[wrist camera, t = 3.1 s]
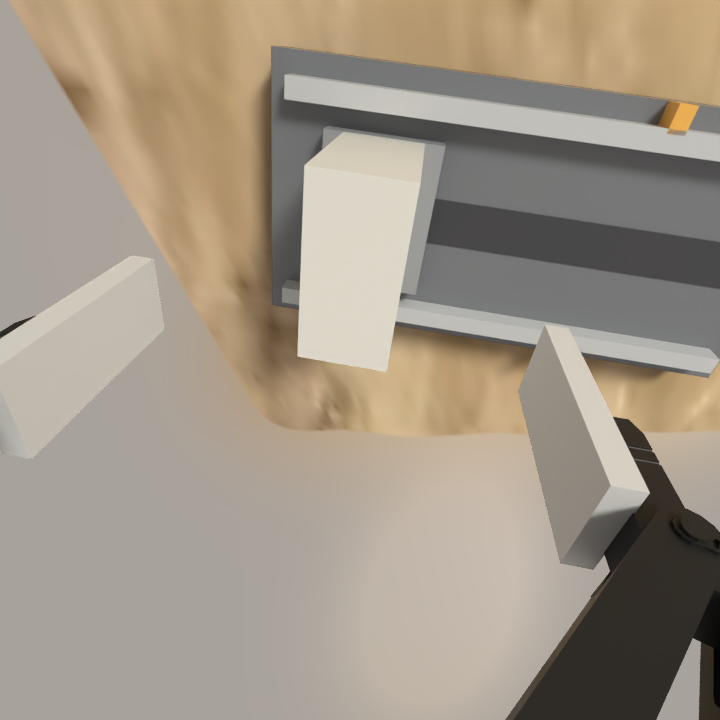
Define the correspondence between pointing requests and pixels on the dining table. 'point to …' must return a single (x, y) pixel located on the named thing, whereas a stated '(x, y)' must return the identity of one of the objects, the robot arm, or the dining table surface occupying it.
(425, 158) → the fader tab
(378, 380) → the dining table surface
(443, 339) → the dining table surface
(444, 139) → the grey slider base
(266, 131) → the dining table surface
